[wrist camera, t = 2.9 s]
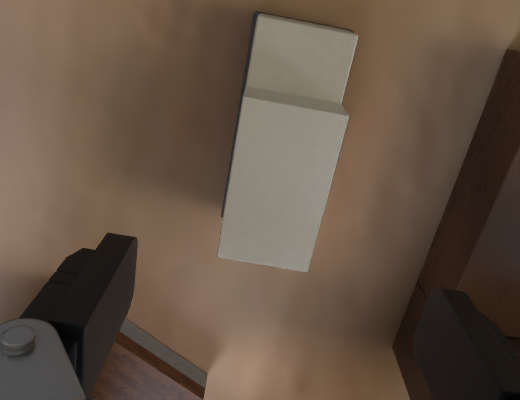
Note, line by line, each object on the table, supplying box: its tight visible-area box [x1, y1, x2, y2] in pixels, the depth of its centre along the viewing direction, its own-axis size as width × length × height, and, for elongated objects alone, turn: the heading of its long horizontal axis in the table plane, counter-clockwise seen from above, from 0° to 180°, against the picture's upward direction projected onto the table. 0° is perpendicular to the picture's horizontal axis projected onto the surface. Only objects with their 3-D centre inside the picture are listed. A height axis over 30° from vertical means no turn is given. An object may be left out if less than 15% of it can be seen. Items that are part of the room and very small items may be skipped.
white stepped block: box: [217, 11, 358, 272], centre depth 20 cm, size 10×4×6 cm, turn 170°
